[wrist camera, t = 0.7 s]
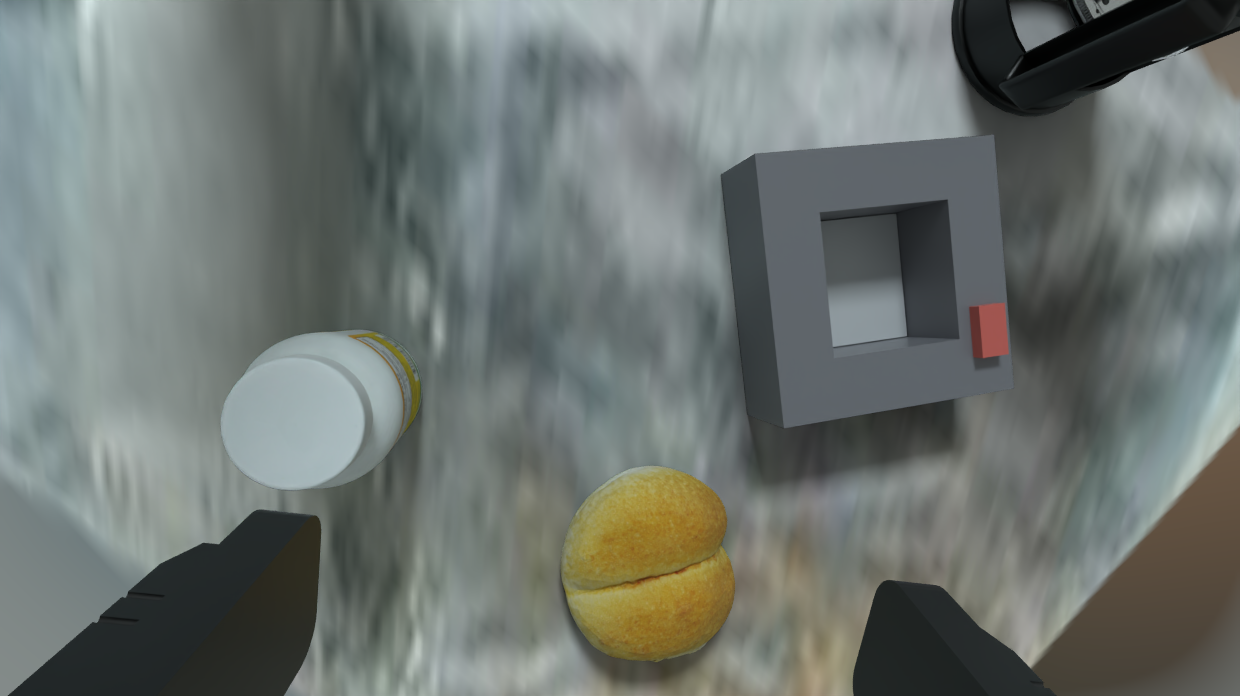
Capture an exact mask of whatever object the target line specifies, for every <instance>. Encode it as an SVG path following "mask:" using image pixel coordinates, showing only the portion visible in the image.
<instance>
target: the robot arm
mask: <svg viewBox="0 0 1240 696" xmlns="http://www.w3.org/2000/svg"><path fill="white" fill-rule="evenodd" d="M320 544H321V524H320V520H319V518H318V517H317V516H315V515H306V514H297V513H288V512H279V511H269V510H256V511H254V512H253V513H252V514H250V515H249V516H248V517H247V518H246V519H245V520H244V521H243V522H242V523H241V524H240V525H239V526H238V527H237V528H236V529H235V530H234V531H232V532H231V533H230V534H229V535H228V536H227V537H226V538H225V539H224V540H223V541H222V542H221V543H220V544H210V543H202V544H200V545H198V546H196V547H194V548H192V549H190V550H188V551H186V552H184V553H182V554H180V555H178V556H175V557H173V558H171V559H169V560H167V561H165V562H163V563H161V564H160V565H158V566H157V567H156V568H155V569H154V570H153V571H151V572H150V573H149V574H148V575H147V576H146V577H145V578H143V579H142V580H141V581H140V582H139V583H138V584H136V585H135V586H134V587H133V588H132V589H131V590H129V591H128V595H127V597H126V598H123V597H122V598H120V599H119V600H118V601H117V602H116V603H114V604H113V605H112V606H111V607H110V608H109V609H108V610H106V611H105V612H104V613H103V614H102V615H101V616H100V619H99V621H98V622H97V623H94V622H92V623H91V624H90V625H89V626H88V627H87V628H86V629H84V630H83V631H82V632H81V633H80V634H79V635H77V636H76V637H75V638H74V639H73V640H72V641H70V642H69V643H68V644H67V645H66V646H65V647H64V648H62V649H61V650H60V651H59V652H58V653H57V654H56V655H54V656H53V657H52V658H51V659H50V660H48V661H47V662H46V663H45V664H44V665H43V666H42V667H40V668H39V669H38V670H37V671H36V672H35V673H34V674H32V675H31V676H30V677H29V678H28V679H27V680H25V681H24V682H23V683H22V684H21V685H20V686H18V687H17V688H16V689H15V690H14V691H13V692H12V693H10V694H9V695H8V696H284V694H285V693H286V691H287V689H288V688H289V686H290V684H291V683H292V681H293V679H294V678H295V676H296V674H297V673H298V671H299V669H300V668H301V666H302V664H303V662H304V660H305V657H306V655H307V652H308V649H309V647H310V643H311V640H312V636H313V632H314V628H315V622H316V613H317V596H318V579H319V561H320ZM853 694H854V696H1056V695H1055V694H1054V693H1053V692H1052V691H1051V690H1050V689H1049V688H1044V686H1043V681H1042V680H1041V679H1040V678H1039V677H1038V676H1037V675H1036V674H1035V673H1034V672H1033V671H1032V670H1031V669H1030V668H1029V667H1028V666H1027V664H1026V663H1025V662H1024V661H1023V660H1022V659H1021V658H1020V657H1019V656H1018V655H1017V654H1016V653H1015V652H1014V651H1013V650H1011V649H1010V648H1008V647H1007V646H1005V645H1004V644H1003V643H1001V642H1000V641H998V640H997V639H996V638H994V637H993V636H991V635H990V634H989V633H987V632H986V631H984V630H983V629H981V628H980V627H979V626H978V625H977V624H976V623H975V622H974V621H973V620H972V619H971V617H970V616H969V615H968V614H967V613H966V612H965V611H964V610H963V609H962V608H961V607H960V606H959V605H958V603H957V602H956V601H955V600H954V599H953V598H952V597H951V596H950V595H949V594H948V593H947V592H946V591H945V590H944V589H943V588H941V587H940V586H937V585H930V584H920V583H911V582H902V581H893V580H886V581H884V582H882V583H881V584H880V585H879V587H878V588H877V590H876V593H875V596H874V599H873V603H872V607H871V610H870V614H869V617H868V621H867V625H866V628H865V632H864V635H863V639H862V643H861V646H860V650H859V654H858V657H857V661H856V664H855V668H854V674H853Z"/></svg>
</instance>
